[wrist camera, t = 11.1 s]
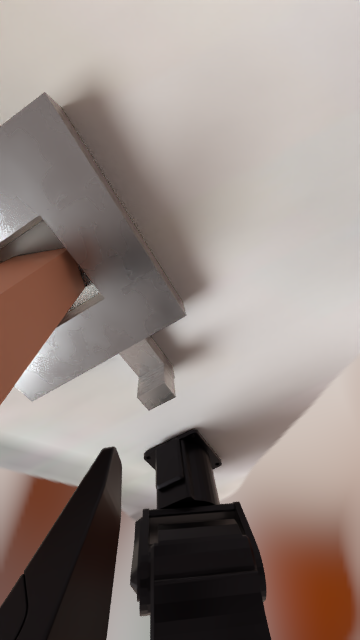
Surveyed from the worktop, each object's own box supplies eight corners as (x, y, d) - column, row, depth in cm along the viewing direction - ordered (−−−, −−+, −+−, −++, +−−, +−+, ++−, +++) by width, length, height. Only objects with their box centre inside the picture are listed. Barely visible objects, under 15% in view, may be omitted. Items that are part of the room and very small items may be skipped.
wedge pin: (85, 287, 19) (0, 405, 9) (31, 296, 19) (-120, 426, 9) (71, 246, 18) (-49, 327, 7) (14, 256, 18) (-192, 351, 7)
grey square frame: (182, 302, 21) (186, 315, 18) (44, 380, 23) (32, 401, 20) (61, 107, 15) (44, 92, 12) (-112, 238, 17) (-153, 245, 15)
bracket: (173, 366, 23) (177, 398, 20) (150, 378, 24) (150, 412, 20) (142, 325, 21) (140, 352, 18) (118, 338, 22) (111, 368, 18)
